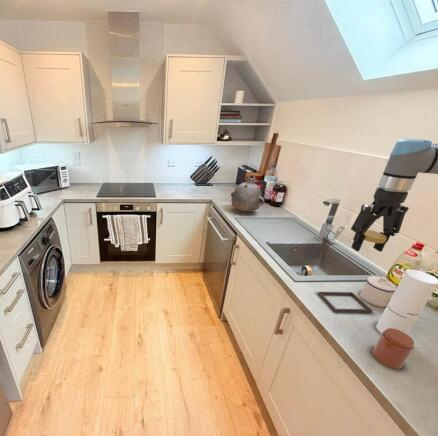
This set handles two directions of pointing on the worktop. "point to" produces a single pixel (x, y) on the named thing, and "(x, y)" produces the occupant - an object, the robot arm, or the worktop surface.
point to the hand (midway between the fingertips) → (366, 249)
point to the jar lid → (374, 236)
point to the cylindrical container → (407, 301)
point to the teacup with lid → (378, 291)
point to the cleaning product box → (260, 186)
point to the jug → (247, 196)
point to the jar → (393, 348)
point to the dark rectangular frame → (366, 310)
